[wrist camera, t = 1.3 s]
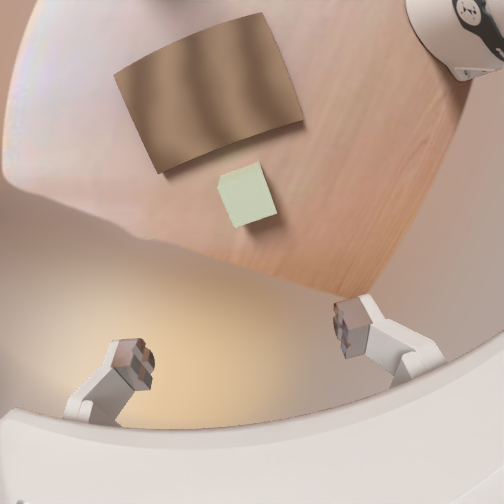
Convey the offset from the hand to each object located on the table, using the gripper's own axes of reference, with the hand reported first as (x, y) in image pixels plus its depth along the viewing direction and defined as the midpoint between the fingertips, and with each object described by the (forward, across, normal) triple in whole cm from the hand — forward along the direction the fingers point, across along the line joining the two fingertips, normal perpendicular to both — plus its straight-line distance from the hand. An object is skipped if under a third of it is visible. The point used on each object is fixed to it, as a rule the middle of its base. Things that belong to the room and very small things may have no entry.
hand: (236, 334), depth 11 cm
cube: (+25, -2, +2) cm, 25 cm away
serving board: (+25, 0, -11) cm, 27 cm away
